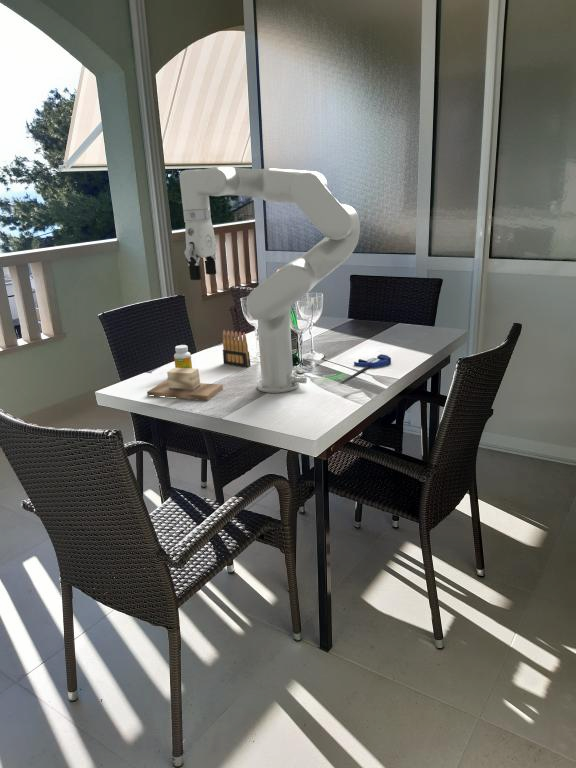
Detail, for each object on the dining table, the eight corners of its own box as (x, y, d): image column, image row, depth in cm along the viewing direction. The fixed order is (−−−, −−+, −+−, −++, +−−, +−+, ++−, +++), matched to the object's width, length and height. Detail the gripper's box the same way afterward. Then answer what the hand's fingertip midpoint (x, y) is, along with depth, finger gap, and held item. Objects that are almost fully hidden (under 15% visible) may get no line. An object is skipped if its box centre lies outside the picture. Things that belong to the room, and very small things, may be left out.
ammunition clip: (223, 363, 209) (220, 330, 205) (227, 362, 210) (223, 328, 206) (247, 367, 202) (244, 332, 199) (250, 366, 204) (247, 331, 200)
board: (222, 389, 183) (222, 384, 182) (207, 400, 174) (207, 395, 174) (164, 385, 190) (164, 381, 189) (147, 396, 181) (147, 391, 180)
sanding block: (200, 386, 182) (198, 368, 180) (193, 391, 178) (191, 373, 176) (176, 384, 185) (174, 367, 183) (169, 389, 181) (167, 372, 179)
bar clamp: (367, 351, 204) (394, 355, 198) (367, 358, 205) (394, 362, 199) (314, 383, 180) (343, 388, 174) (314, 390, 181) (343, 396, 175)
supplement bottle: (177, 378, 196) (173, 349, 193) (175, 373, 201) (172, 345, 198) (193, 376, 197) (190, 347, 194) (191, 371, 202) (188, 343, 199)
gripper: (194, 217, 162) (201, 282, 167) (222, 213, 177) (228, 272, 183) (170, 219, 164) (177, 282, 170) (199, 214, 180) (205, 272, 185)
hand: (203, 276), depth 176 cm, fingers open, 9 cm apart
